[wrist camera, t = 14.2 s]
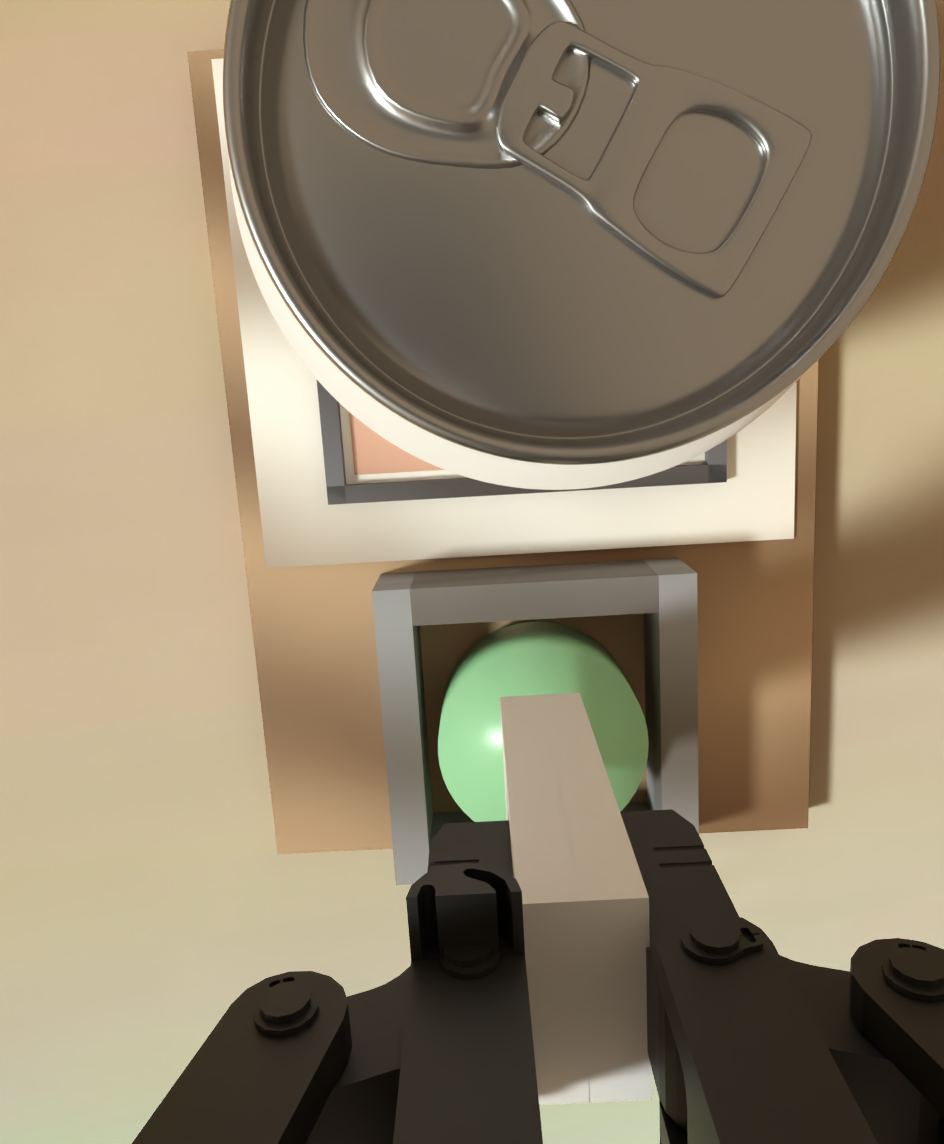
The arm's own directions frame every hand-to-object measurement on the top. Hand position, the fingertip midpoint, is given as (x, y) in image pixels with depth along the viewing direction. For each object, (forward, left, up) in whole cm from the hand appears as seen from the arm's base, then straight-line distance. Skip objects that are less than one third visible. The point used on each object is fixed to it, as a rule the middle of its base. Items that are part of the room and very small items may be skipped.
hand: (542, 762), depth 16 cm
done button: (0, 0, -4) cm, 4 cm away
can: (-9, 0, -4) cm, 10 cm away
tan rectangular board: (-5, 0, -5) cm, 7 cm away
